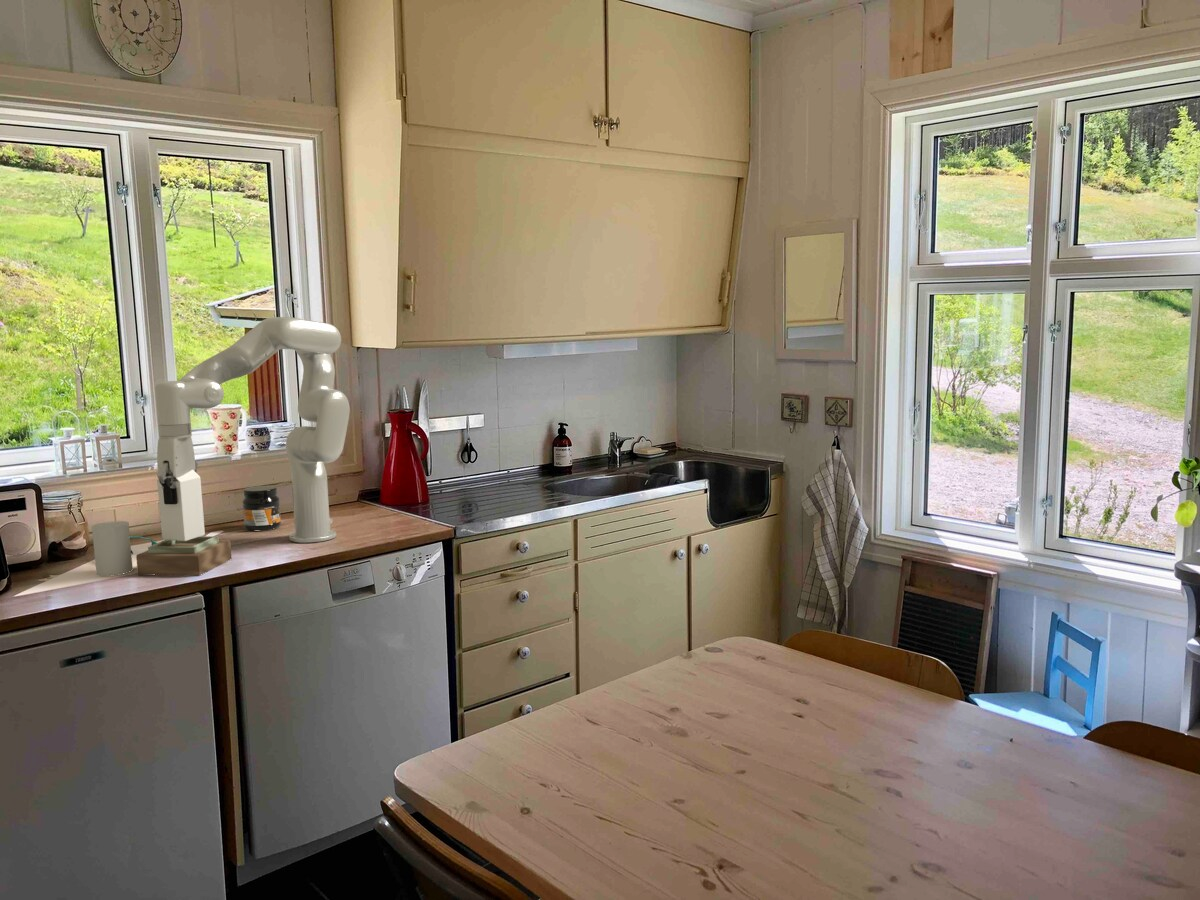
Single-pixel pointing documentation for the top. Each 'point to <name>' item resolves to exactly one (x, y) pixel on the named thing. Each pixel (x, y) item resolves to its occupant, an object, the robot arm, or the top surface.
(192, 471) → the milk carton
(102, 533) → the cup
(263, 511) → the supplement container
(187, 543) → the stand
